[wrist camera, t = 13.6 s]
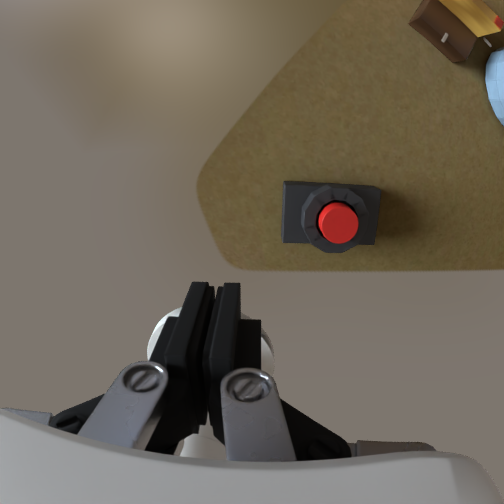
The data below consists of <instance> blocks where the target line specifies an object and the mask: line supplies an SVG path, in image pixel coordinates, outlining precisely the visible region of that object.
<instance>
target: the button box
mask: <svg viewBox="0 0 504 504" xmlns="http://www.w3.org/2000/svg"><path fill="white" fill-rule="evenodd" d="M380 197H381V190H380V189H378V188H376V187H374V186H365V185H351V184H335V183H316V182H293V181H283V205H282V229H281V237H282V242H283V243H311V244H312V245H314V246H315V247H317V248H319V249H320V250H322V251H323V252H327V253H343V252H345V251H347V250H349V249H350V248H352V247H354V246H356V245H374V243H375V237H376V230H377V222H378V215H379V206H380ZM334 202H340V203H343V204H346V205H347V206H348V207H349V208H351V209H352V210H353V211H354V212H355V214H356V215H357V218H358V223H359V224H358V230H357V232H356V234H355V236H354V237H353V238H352V239H351V240H349V241H347V242H345V243H341V244H337V243H333V242H330V241H329V240H327V239H326V238H325V236H324V235H323V233H322V231H321V230H320V228H319V224H318V218H319V214H320V212H321V211H322V209H323V208H324V207H325V206H327V205H328V204H331V203H334Z"/></svg>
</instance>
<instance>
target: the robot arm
mask: <svg viewBox="0 0 504 504" xmlns="http://www.w3.org/2000/svg"><path fill="white" fill-rule="evenodd" d="M240 305H241V302H240V283H224V287H220V286H219V287H218V290H217V295H216V298H215V290H214V286H209V283H208V282H192V284H191V286H190V289H189V291H188V293H187V296H186V298H185V301H184V304H183V306H182V309H181V311H180V314H179V316H178V317H176V316H169V317H167V319H166V321H165V324H164V326H163V328H162V330H161V333H160V335H159V337H158V340H157V342H156V345H155V347H154V349H153V352H152V354H151V356H150V359H149V361H139V362H135V363H133V364H130V365H128V366H127V367H125V368H124V369H123V370H122V371H121V372H120V374H119V375H118V377H117V378H116V379H115V381H114V382H113V384H112V385H111V386H110V388H109V389H108V391H107V392H106V393H105V394H103V395H101V396H98V397H96V398H94V399H91V400H89V401H86V402H84V403H82V404H79V405H77V406H74V407H72V408H69V409H67V410H64V411H62V412H60V413H59V414H57V415H56V416H53V414H52V413H47V412H37V411H27V410H19V409H12V408H1V409H0V504H504V500H503V498H502V496H501V494H500V492H499V490H498V488H497V486H496V484H495V483H494V481H493V479H492V478H491V476H490V475H489V473H488V472H487V470H486V469H485V468H484V467H483V466H482V465H481V464H480V463H478V462H477V461H476V460H474V459H472V458H470V457H468V456H464V455H461V454H455V453H449V452H439V451H436V450H435V449H434V448H433V447H432V446H430V445H429V444H426V443H422V442H380V441H379V442H378V441H361V440H358V441H357V443H355V444H354V443H347V442H346V441H345V440H344V439H342V438H341V437H340V436H338V435H337V434H335V433H333V432H332V431H330V430H328V429H327V428H325V427H323V426H322V425H320V424H319V423H317V422H315V421H314V420H312V419H311V418H309V417H308V416H306V415H304V414H303V413H301V412H300V411H298V410H297V409H295V408H294V407H292V406H291V405H289V404H288V403H286V402H285V401H283V400H282V399H280V397H279V393H278V390H277V386H276V383H275V381H274V379H273V377H271V376H270V375H269V374H268V373H266V372H264V371H262V370H261V320H251V319H241V310H240V309H241V307H240Z"/></svg>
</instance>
